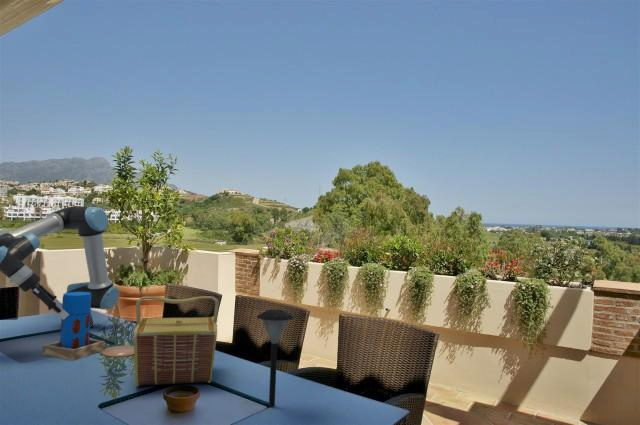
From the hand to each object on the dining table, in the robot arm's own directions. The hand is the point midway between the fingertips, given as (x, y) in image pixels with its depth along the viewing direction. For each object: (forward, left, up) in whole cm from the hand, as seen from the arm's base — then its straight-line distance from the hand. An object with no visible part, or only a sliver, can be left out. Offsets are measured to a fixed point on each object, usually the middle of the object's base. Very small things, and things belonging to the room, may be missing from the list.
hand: (65, 314), depth 194 cm
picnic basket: (+5, +59, -17) cm, 62 cm away
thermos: (-4, +2, -17) cm, 17 cm away
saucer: (-14, +18, -17) cm, 28 cm away
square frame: (-4, +2, -17) cm, 17 cm away
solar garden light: (+14, +102, -17) cm, 104 cm away
